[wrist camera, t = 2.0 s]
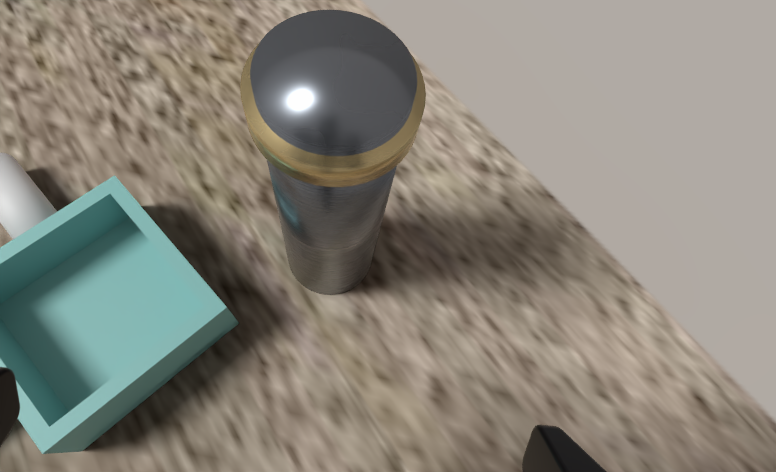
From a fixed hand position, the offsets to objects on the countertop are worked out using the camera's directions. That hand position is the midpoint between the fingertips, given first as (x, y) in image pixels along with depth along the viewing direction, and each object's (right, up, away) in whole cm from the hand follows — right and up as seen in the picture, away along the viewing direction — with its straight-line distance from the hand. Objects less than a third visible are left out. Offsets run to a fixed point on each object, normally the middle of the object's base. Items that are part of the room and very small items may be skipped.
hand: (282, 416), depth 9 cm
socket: (-14, 0, +13) cm, 19 cm away
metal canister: (-1, +2, +15) cm, 16 cm away
